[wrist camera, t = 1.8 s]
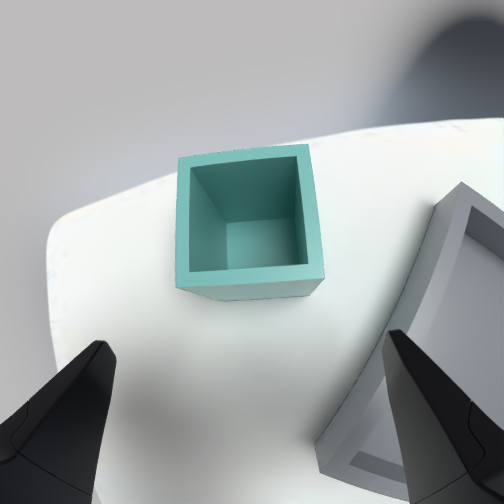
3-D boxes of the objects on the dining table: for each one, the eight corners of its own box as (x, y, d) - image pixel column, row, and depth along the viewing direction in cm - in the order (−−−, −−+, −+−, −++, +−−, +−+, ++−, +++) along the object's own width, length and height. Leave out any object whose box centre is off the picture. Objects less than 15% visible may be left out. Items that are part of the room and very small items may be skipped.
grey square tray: (484, 497, 14) (506, 516, 10) (314, 444, 18) (319, 472, 14) (569, 309, 16) (598, 304, 12) (435, 204, 21) (461, 181, 16)
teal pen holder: (309, 295, 20) (324, 277, 12) (221, 301, 21) (175, 287, 12) (301, 211, 22) (308, 143, 13) (219, 218, 22) (178, 158, 14)
